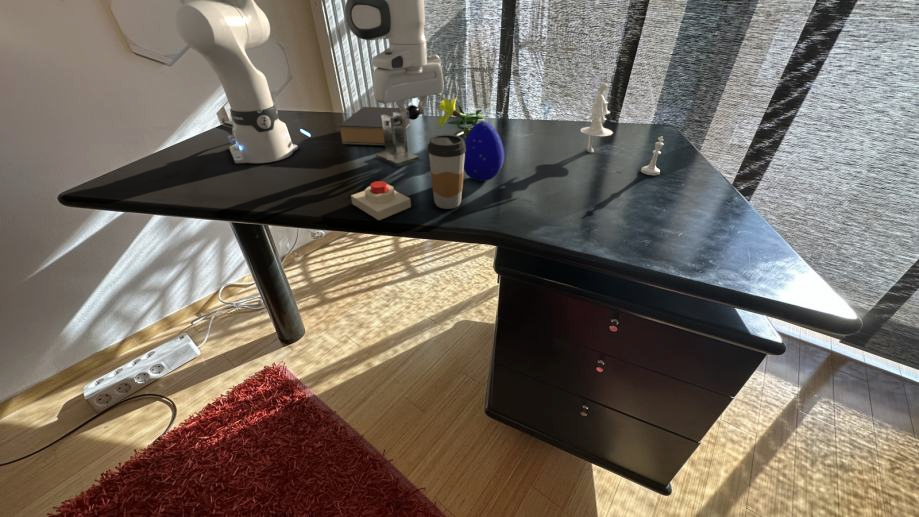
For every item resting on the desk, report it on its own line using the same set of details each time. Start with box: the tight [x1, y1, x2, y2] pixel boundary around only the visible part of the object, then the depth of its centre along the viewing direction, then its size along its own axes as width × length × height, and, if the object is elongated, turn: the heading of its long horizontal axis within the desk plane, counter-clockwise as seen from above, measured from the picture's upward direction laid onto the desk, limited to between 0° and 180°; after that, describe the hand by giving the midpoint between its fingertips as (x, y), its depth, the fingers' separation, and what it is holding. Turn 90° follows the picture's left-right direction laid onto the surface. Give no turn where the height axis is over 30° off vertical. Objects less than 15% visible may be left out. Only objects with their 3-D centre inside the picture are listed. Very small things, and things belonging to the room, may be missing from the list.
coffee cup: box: [427, 134, 466, 210], centre depth 81 cm, size 8×8×15 cm
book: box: [338, 106, 411, 146], centre depth 125 cm, size 17×25×7 cm
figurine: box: [580, 82, 614, 154], centre depth 109 cm, size 13×10×20 cm
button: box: [370, 180, 388, 194], centre depth 82 cm, size 4×4×2 cm
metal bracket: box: [375, 112, 420, 168], centre depth 105 cm, size 11×8×13 cm
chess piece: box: [640, 135, 665, 176], centre depth 98 cm, size 5×5×10 cm
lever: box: [392, 104, 420, 126], centre depth 98 cm, size 13×4×4 cm, turn 45°
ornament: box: [464, 121, 506, 182], centre depth 92 cm, size 11×9×15 cm
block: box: [350, 184, 412, 221], centre depth 83 cm, size 11×9×4 cm
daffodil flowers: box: [435, 86, 490, 140], centre depth 116 cm, size 17×15×35 cm
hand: (412, 116), depth 95 cm, fingers closed on lever, 3 cm apart
